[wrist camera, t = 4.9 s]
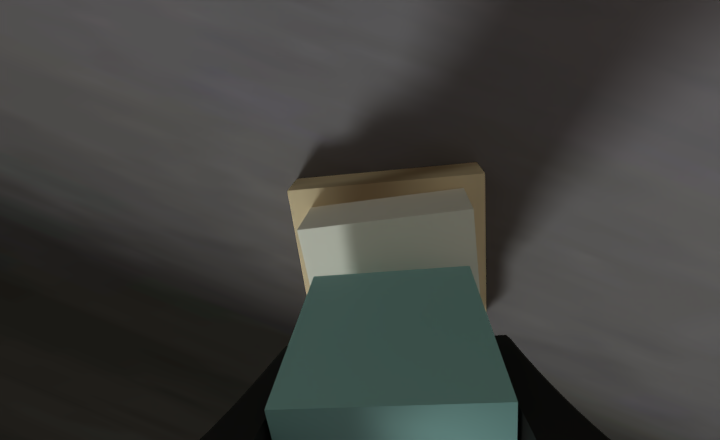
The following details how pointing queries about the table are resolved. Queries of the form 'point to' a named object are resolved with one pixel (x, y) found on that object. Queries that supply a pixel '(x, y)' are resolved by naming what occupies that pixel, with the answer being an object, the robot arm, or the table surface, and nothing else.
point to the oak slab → (392, 185)
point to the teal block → (393, 362)
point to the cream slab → (390, 235)
